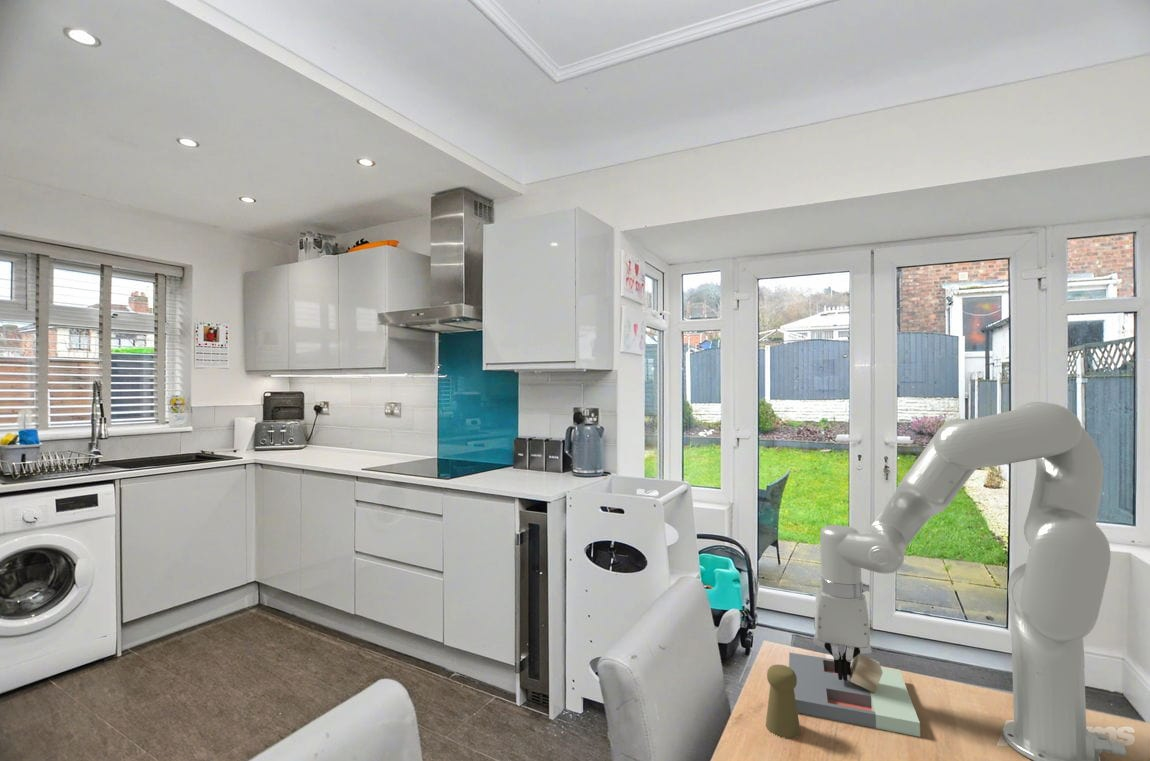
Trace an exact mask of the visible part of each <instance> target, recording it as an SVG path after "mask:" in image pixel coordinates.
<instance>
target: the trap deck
mask: <svg viewBox="0 0 1150 761" xmlns="http://www.w3.org/2000/svg"><path fill="white" fill-rule="evenodd" d="M788 654H789V655H788V656H789V658H788V660H789V661H788V667H789V668H791V669H792V670H793V671H794V672H795V674H796V677H797V684H796V687H795V688H794V693H795V700H796V706H797V713H798V714H800V713H802V714H801V715H805V714H806V716H810V715H811V717H816V718H821V719H826V720H831V721H836V722H840V723H841V722H843V723H848V724H850V725H851V724H853V725H856V726H857V725H858V726H862V727H868V728H872V729H877V730H884V731H888V732H893V733H899V734H903V735H907V736H914V737H918V738H920V737H921V725H920V724H921V722H920V720H919V717H918V715H917V711H916V709H915V707H914V705H913V704H914V703H913V702H912V699H911V696H910V692H909V691H908V689H907V685H906V683H905V680H904V678H903V675H902V672H901V670H900V669H896V668H892V667H885V666H881V669H882V672H883V674H882V676H881V679H880V681H879V684H878V686H877V689H876V691H875V693H873V692H871V691H869V690H867V689H865V688H863V687H861V686H859V685H857V684H855V683H852V682H851V681H850V676H849V675H847V681H844V680H839V678H838V673H834V658H828V657H827V658H826V657H820V656H814V655H807V654H801V653H795V652H788ZM851 663H852V661H851ZM884 668H886V669H884ZM887 669H890V670H887ZM892 670H896V671H892ZM898 671H900V672H898Z"/></svg>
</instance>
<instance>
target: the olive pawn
mask: <svg viewBox="0 0 1150 761" xmlns="http://www.w3.org/2000/svg"><path fill="white" fill-rule="evenodd" d="M766 679H767V682H768V684H769V685H770V686H769V692H768V693H769V694H768V702H767V711H766V718H765V719H766V720H765V728H766V727H767V728H766V729H768V730H769V731H768V730H767V731H768V732H769V733H771V734H772V733H773V735H774V734H775V735H774V736H776V735H777V736H776V737H778V736H780V737H779V738H782V737H785V738H784V739H795V738H797V737H799V736H800V734H801V727H800V720H799V713H797V706H796V700H795V693H794V688H795V687H796V684H797V677H796V674H795V672H794V671H793V670H792V669H791V668H789V666H787V665H784V664H773V665H771V666H769V668H768V669H767V672H766ZM794 737H795V738H794Z"/></svg>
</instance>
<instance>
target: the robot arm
mask: <svg viewBox="0 0 1150 761" xmlns="http://www.w3.org/2000/svg"><path fill="white" fill-rule="evenodd" d="M1101 456H1102V455H1101V454H1100V451H1099V449H1098V447H1097V444H1096V443H1095V441H1094V440H1093V438H1092V436H1091V435H1090V434H1089V432H1087V430H1086V429H1085V428H1084V427H1083V426H1082V423H1081V421H1080V419H1079V418H1078V416H1077V415H1076V414H1075V413H1074V412H1073V411H1071V410H1070V409H1068V408H1067V407H1064V406H1062V405H1059V404H1055V403H1051V402H1044V401H1031V402H1027V403H1023V404H1022V405H1020V406H1017V407H1016V408H1015V409H1013V410H1009V411H1004V412H1000V413H995V414H991V415H987V416H983V417H982V416H981V417H975V418H970V419H965V418H954V419H950V420H949V421H946V422H945V423H944V424H942V425H941V426H940V427H939V428H938V430H937V431H936V432H935V434H934V435H933V437H931V439H930V441H929V442H928V443H927V445H926V446H925V448H924V449H923V451H922V452H921V453H920V454H919V456H918V458H917V459H916V460H915V462H914V463H913V464H912V466H911V467H910V469H908V471H907V472H906V474H905V475H904V477H903V478H902V480H901V481H900V482H899V483H898V486H897V487H896V489H895V491H894V493H893V494H892V495H891V498H889V500H888V501H887V503H886V504H885V505H884V507H883V509H882V510H881V511H880V512H879V514H878V515H877V517H876V518H875V519H874V520H873V522H872V523H871V525H870V526H869V528H868V529H867V530H866V532H865V534H864V533H860V532H859V531H858V530H857V529H856V528H854V527H852V526H848V525H840V524H830V525H829V524H828V525H825V526H823V527H821V529H820V534H819V535H820V536H819V537H820V538H819V539H820V540H819V541H820V547H819V548H820V549H819V550H820V587H819V588H817V590H816V594H815V601H814V620H813V621H814V624H813V625H814V631H815V632H814V636H813V644H814V645H815V646H818V647H820V648H824V649H825V650H826V651H827V652H828V653H829V654H830V655H831V657H832V659H834V673H838V678H839V680H844V681H847V675H851V662H852V660H853V658H855V657H856V656H857V655H858V654H862V655H864V654H871V653H872V648H871V632H870V628H871V627H870V619H869V616H870V615H869V611H868V603H867V598H866V595H865V594H864V593H865V592H870V584H868V583H867V584H866V583H864V582H863V581H862V569H863V570H867V571H871V572H873V573H878V574H883V575H885V574H887V575H889V574H894V573H896V572H897V571H899V570H900V569H901V568H902V566H903V564H904V560H905V552H906V550H907V548H908V547H909V545H910V544H911V542H912V541H913V540H914V538H915V537H916V535H917V534H918V533H919V532H920V530H921V529H922V528H923V527H924V526H925V524H926V523H927V522H928V521H929V520H930V519H931V518H932V517H934V516H936V515H938V514H940V513H941V512H944V510H946V509H947V507H949V505H950V504H951V503H952V501H954V499H955V498H956V496H957V495H958V494H959V492H960V491H961V489H962V488H963V487H964V486H965V484H966V483H967V481H968V480H969V479H970V478H971V477H972V475H973V474H974V473H975V471H976V470H977V469H983V468H989V467H992V468H993V467H997V466H1004V465H1009V464H1015V463H1019V462H1027V461H1033V460H1035V464H1036V465H1035V466H1036V469H1035V470H1036V472H1035V479H1034V485H1033V491H1032V496H1031V500H1030V502H1029V503H1030V504H1029V507H1028V512H1027V516H1026V520H1025V522H1024V525H1023V534H1024V535H1023V536H1024V538H1025V540H1026V542H1027V544H1028V546H1029V549H1028V555H1027V560H1026V562H1025V563H1023V564H1021V565H1019V566H1018V567H1016V568H1015V569H1014V570H1013V571H1012V573H1011V575H1010V576H1009V579H1008V584H1007V595H1008V604H1009V616H1010V632H1011V634H1010V635H1011V664H1012V665H1011V666H1012V668H1011V669H1012V695H1013V696H1012V699H1013V721H1009V722H1007V723H1005V724H1004V726H1003V728H1002V729H1003V737H1004V740H1005V741H1006V742H1007V743H1008V745H1009V746H1010V747H1012V748H1013V749H1014V750H1015V751H1016V752H1018V753H1020V754H1021V755H1022V756H1024V757H1026V758H1028V759H1030V760H1032V761H1101V756H1100V755H1099V754H1102V752H1103V753H1109V754H1110V755H1116V756H1120V757H1121V756H1123V757H1126V756H1127V750H1126V746H1125V745H1124V743H1123V742H1120V741H1115V740H1109V739H1108V737H1107V735H1106V734H1105V733H1102V732H1096V731H1095V732H1092V731H1089V730H1088V729H1087V710H1086V709H1087V708H1086V705H1087V704H1086V680H1085V679H1086V676H1085V662H1086V661H1085V647H1084V638H1085V637H1086V636H1088V635H1089V634H1090V633H1091V632H1092V630H1093V629H1094V628H1095V625H1096V624H1097V621H1098V618H1099V614H1100V609H1101V605H1102V602H1103V601H1102V600H1103V598H1104V593H1105V589H1106V585H1107V584H1106V583H1107V580H1108V575H1109V571H1110V566H1111V547H1110V544H1109V540H1108V538H1107V536H1106V534H1105V533H1104V532H1103V531H1102V529H1101V528H1100V527H1099V526H1098V525H1097V518H1098V513H1099V507H1100V504H1101V503H1100V502H1101V493H1102V489H1103V482H1104V466H1103V464H1104V463H1103V459H1102V457H1101ZM839 646H845V648H844V652H843V654H841V652H840V651H839Z"/></svg>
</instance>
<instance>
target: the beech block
mask: <svg viewBox="0 0 1150 761" xmlns="http://www.w3.org/2000/svg"><path fill="white" fill-rule="evenodd" d="M851 662H852V663H851V675H849V676H850V681H851V682H852V683H855V684H857V685H859V686H861V687H863V688H865V689H867V690H869V691H871V692H873V693H875V691H876V689H877V686H878V684H879V681H880V679H881V676H882V674H883V672H882V669H881V667H882V666H881V663H880V662H879V661H877V660H875V659H873V658H870V657H869V656H867V655H864V654H862V653H860V654H858V655H857V656H856V657H855V658H853V659H852V661H851Z"/></svg>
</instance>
